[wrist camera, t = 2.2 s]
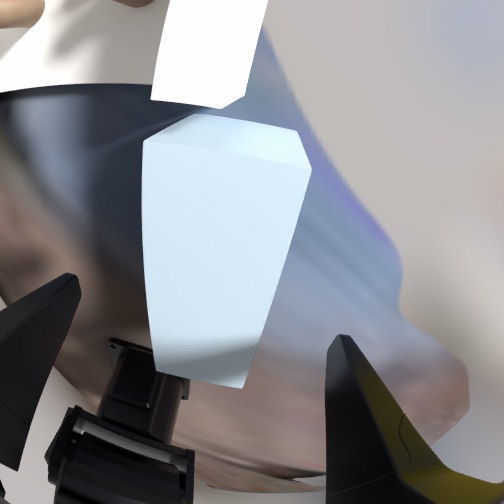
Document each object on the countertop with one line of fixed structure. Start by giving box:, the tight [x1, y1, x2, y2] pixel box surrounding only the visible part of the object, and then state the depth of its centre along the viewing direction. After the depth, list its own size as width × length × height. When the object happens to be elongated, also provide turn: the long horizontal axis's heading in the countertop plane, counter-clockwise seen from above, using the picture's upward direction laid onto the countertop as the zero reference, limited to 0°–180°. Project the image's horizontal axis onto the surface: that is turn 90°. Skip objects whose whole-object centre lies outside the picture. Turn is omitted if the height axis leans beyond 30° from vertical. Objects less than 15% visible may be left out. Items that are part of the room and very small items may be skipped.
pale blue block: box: [142, 113, 312, 388], centre depth 11 cm, size 10×4×5 cm, turn 169°
